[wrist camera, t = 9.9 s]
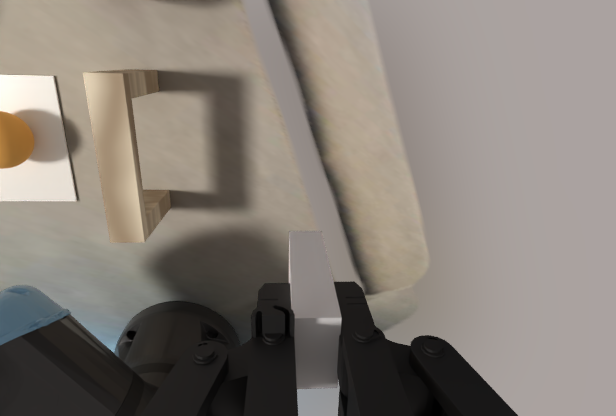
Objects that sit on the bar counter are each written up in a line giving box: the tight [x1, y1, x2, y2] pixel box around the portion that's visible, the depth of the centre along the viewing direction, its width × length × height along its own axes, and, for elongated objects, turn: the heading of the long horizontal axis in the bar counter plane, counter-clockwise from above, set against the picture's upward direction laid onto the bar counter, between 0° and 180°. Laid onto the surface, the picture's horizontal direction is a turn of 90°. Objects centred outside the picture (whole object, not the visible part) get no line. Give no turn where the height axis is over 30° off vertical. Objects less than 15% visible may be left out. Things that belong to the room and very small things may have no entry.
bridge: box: [83, 70, 171, 242], centre depth 38 cm, size 3×14×9 cm, turn 178°
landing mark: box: [0, 75, 77, 201], centre depth 41 cm, size 13×13×1 cm
